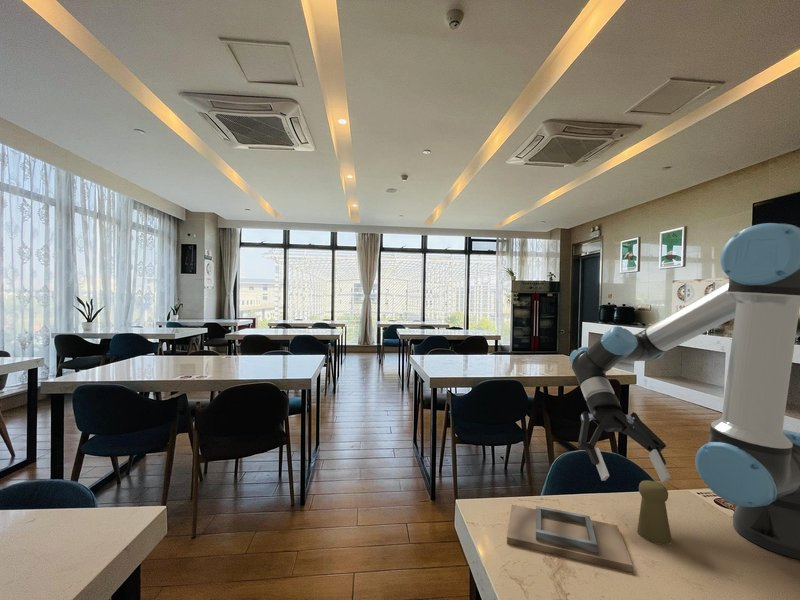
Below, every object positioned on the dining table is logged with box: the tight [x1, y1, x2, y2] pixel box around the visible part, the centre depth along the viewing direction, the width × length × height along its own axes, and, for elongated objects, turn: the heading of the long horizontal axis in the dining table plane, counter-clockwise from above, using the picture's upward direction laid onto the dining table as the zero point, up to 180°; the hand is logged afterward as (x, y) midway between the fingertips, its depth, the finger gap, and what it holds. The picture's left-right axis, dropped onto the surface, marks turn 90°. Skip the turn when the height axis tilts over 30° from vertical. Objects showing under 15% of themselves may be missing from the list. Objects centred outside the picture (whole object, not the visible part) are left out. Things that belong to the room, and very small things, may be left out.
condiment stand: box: [506, 504, 634, 573], centre depth 76 cm, size 22×14×3 cm, turn 69°
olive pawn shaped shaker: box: [636, 479, 673, 546], centre depth 77 cm, size 6×6×11 cm
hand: (636, 479), depth 82 cm, fingers open, 13 cm apart
